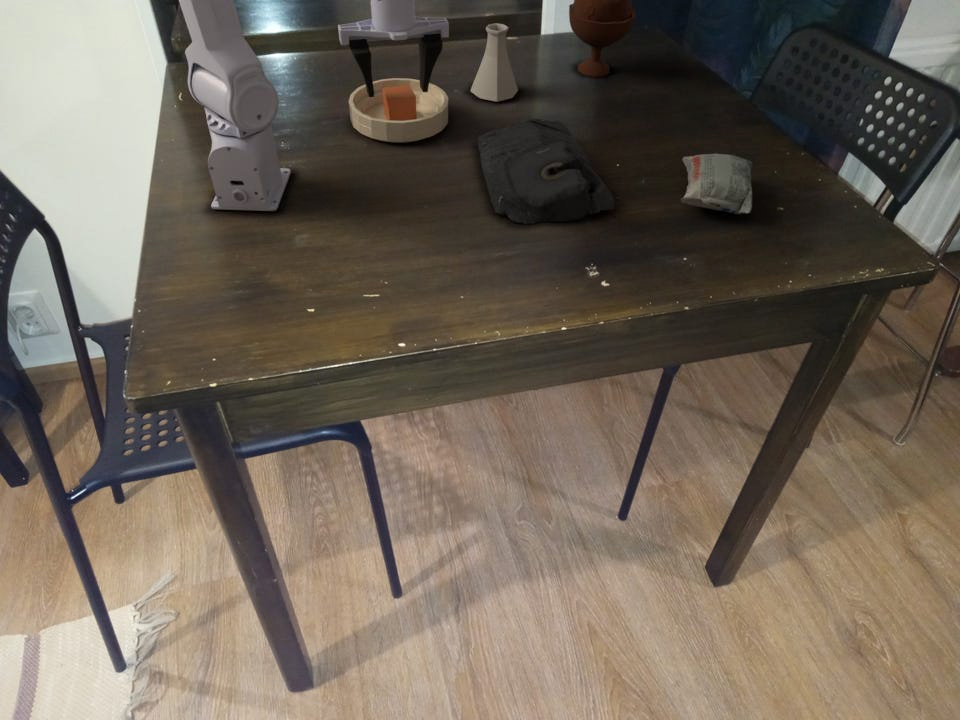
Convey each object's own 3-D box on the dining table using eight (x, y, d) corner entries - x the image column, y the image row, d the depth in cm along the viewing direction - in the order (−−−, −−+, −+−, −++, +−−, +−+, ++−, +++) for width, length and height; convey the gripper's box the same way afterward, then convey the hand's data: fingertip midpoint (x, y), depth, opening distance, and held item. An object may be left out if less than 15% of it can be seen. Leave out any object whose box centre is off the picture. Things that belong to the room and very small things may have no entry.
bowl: (446, 147, 98) (446, 124, 95) (345, 144, 98) (342, 120, 95) (449, 102, 108) (450, 79, 105) (358, 99, 108) (356, 76, 105)
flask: (490, 78, 114) (493, 14, 107) (525, 92, 111) (531, 26, 104) (462, 92, 110) (463, 27, 103) (497, 107, 107) (501, 40, 100)
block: (416, 123, 102) (415, 96, 99) (389, 126, 101) (388, 99, 98) (410, 110, 104) (409, 84, 101) (384, 113, 103) (382, 87, 100)
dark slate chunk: (575, 134, 102) (579, 102, 99) (618, 219, 87) (625, 185, 83) (472, 138, 100) (472, 107, 97) (498, 226, 85) (500, 193, 81)
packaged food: (676, 216, 87) (686, 182, 84) (679, 169, 96) (689, 136, 92) (746, 228, 86) (760, 194, 83) (744, 180, 94) (756, 147, 91)
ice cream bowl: (623, 58, 122) (640, -36, 111) (626, 86, 114) (644, -13, 103) (562, 54, 122) (573, -41, 112) (561, 81, 114) (573, -18, 104)
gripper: (339, 2, 84) (350, 109, 94) (455, -6, 88) (454, 99, 97) (331, -17, 89) (342, 86, 99) (441, -24, 92) (442, 78, 102)
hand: (397, 91), depth 98 cm, fingers open, 7 cm apart
